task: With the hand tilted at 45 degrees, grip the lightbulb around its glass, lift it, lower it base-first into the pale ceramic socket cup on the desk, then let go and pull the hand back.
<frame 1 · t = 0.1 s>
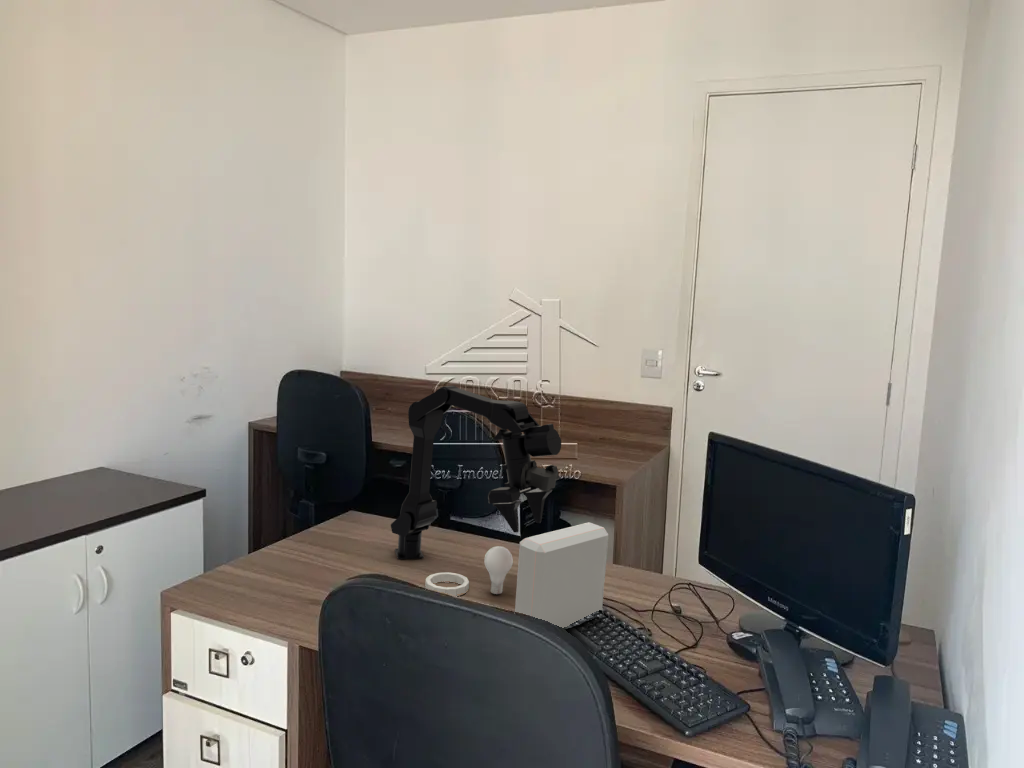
hand: (527, 527, 168), 15 cm above the table, tool pointing down, fingers open, 9 cm apart
lightbulb: (496, 594, 169), on the table
socket: (446, 589, 170), on the table
first aid kit: (556, 626, 155), on the table
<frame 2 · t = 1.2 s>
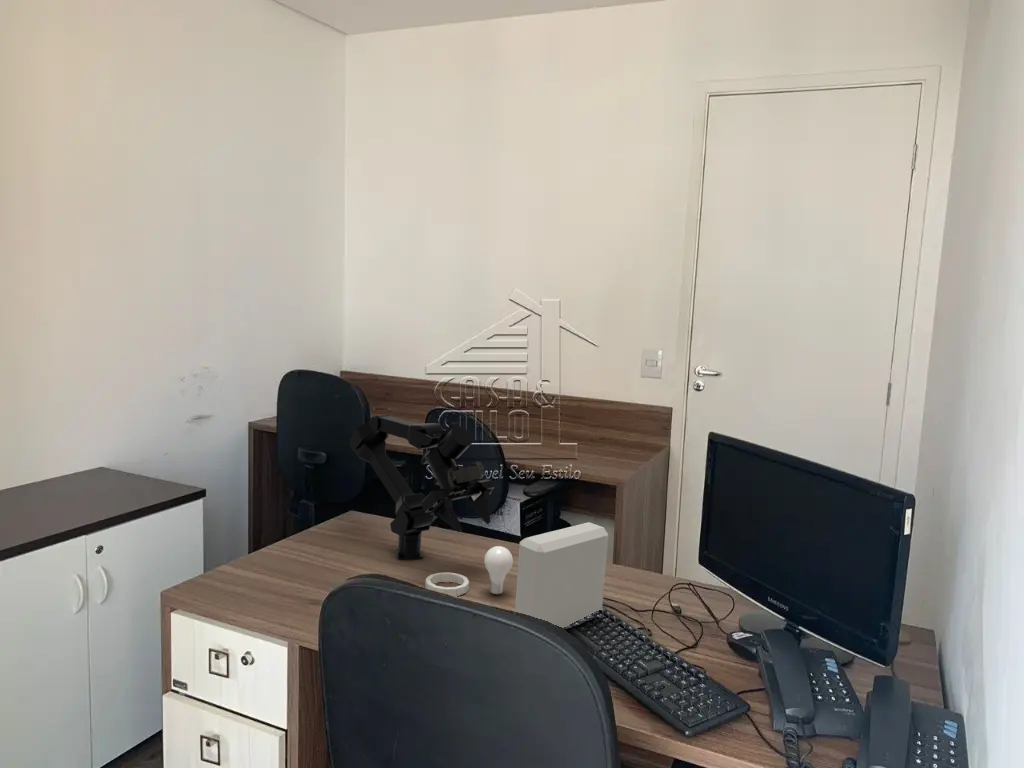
hand: (475, 527, 173), 13 cm above the table, tool tilted 45°, fingers open, 9 cm apart
nothing on the table moved.
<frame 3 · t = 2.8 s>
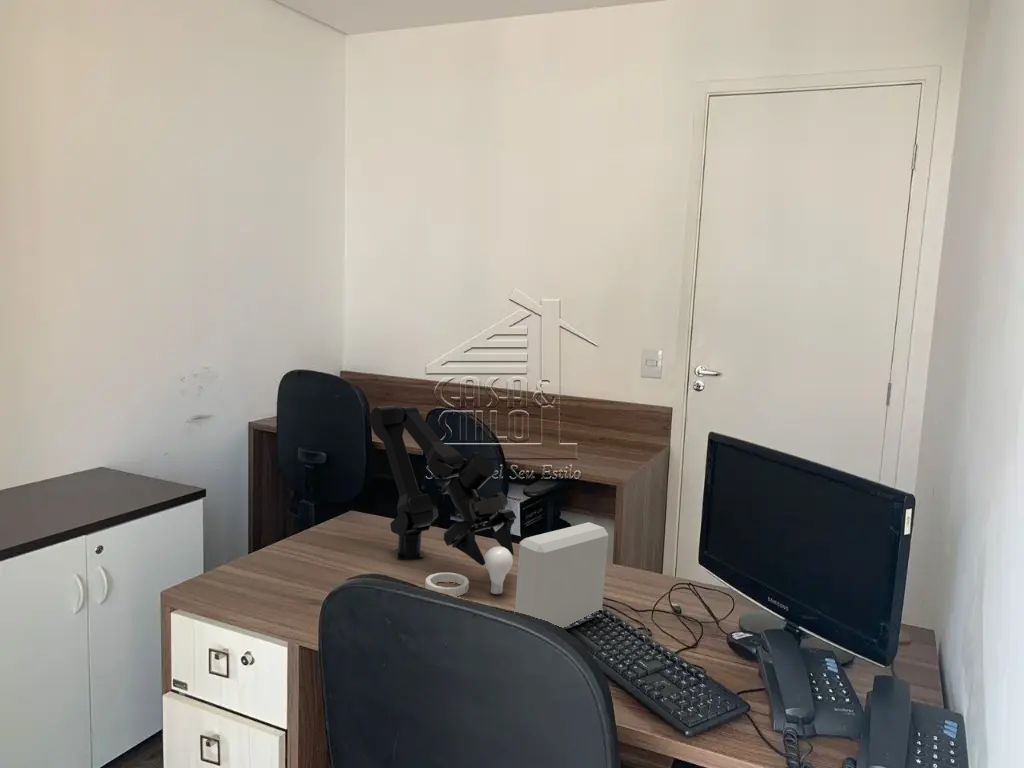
hand: (498, 559, 168), 8 cm above the table, tool tilted 45°, fingers open, 9 cm apart
nothing on the table moved.
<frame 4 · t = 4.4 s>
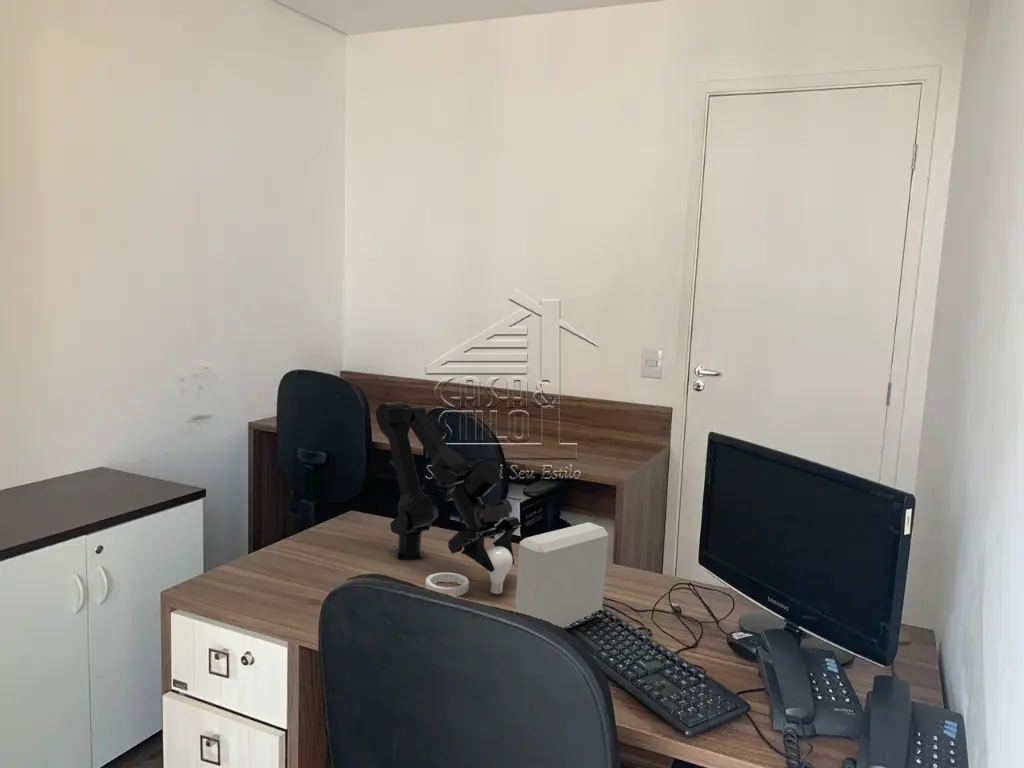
hand: (502, 567, 167), 7 cm above the table, tool tilted 45°, fingers closed on lightbulb, 6 cm apart
lightbulb: (496, 594, 169), on the table, touching gripper
everything else where it was.
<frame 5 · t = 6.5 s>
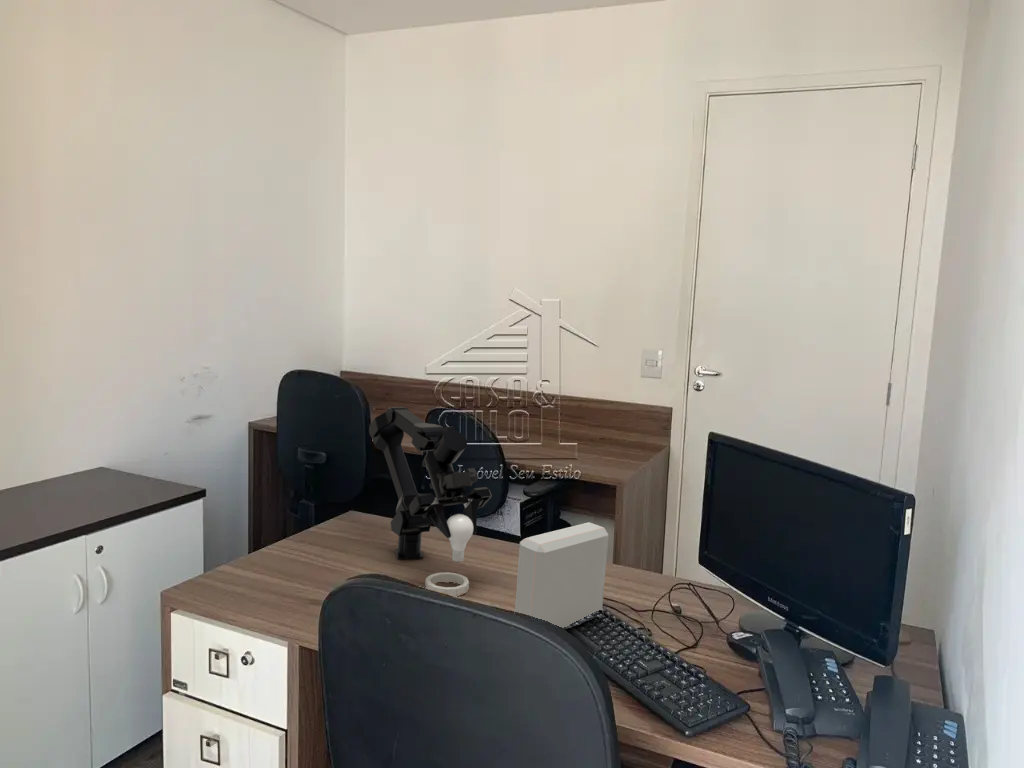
hand: (462, 535, 167), 13 cm above the table, tool tilted 45°, fingers closed on lightbulb, 6 cm apart
lightbulb: (457, 562, 169), point 6 cm above the table, touching gripper
everything else where it was.
when the fingers open (8 cm above the table, at t = 9.1 s): lightbulb drops 2 cm, resting in socket.
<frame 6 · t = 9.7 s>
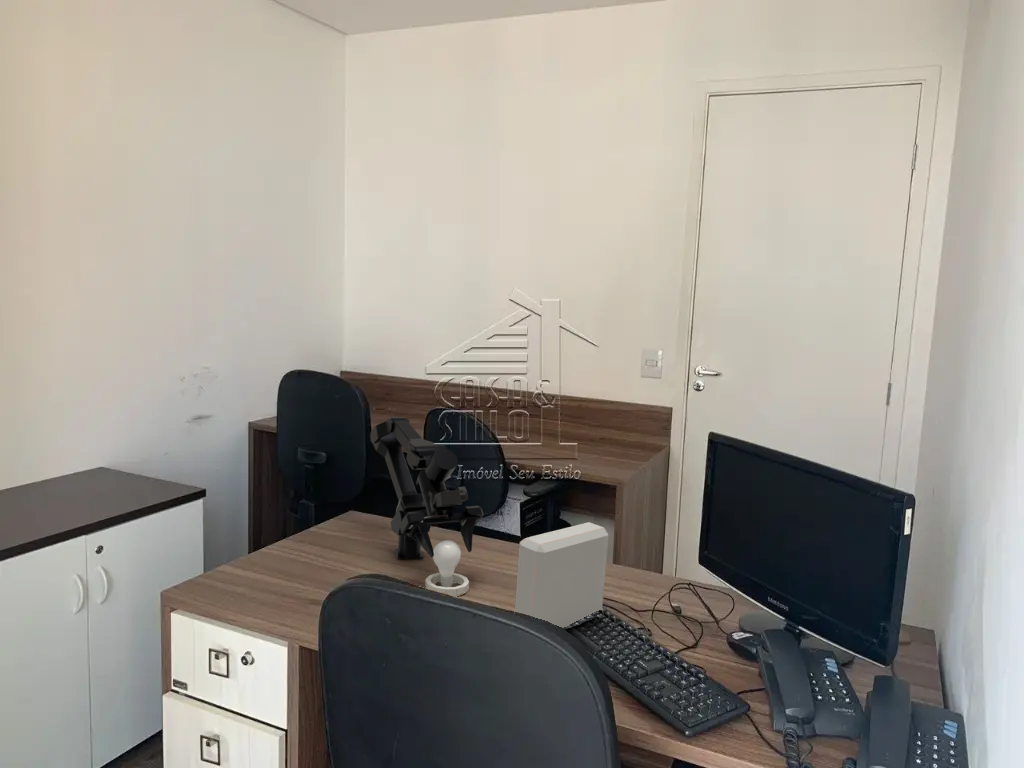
hand: (451, 553, 168), 9 cm above the table, tool tilted 45°, fingers open, 9 cm apart
lightbulb: (446, 589, 170), resting in socket
everything else where it was.
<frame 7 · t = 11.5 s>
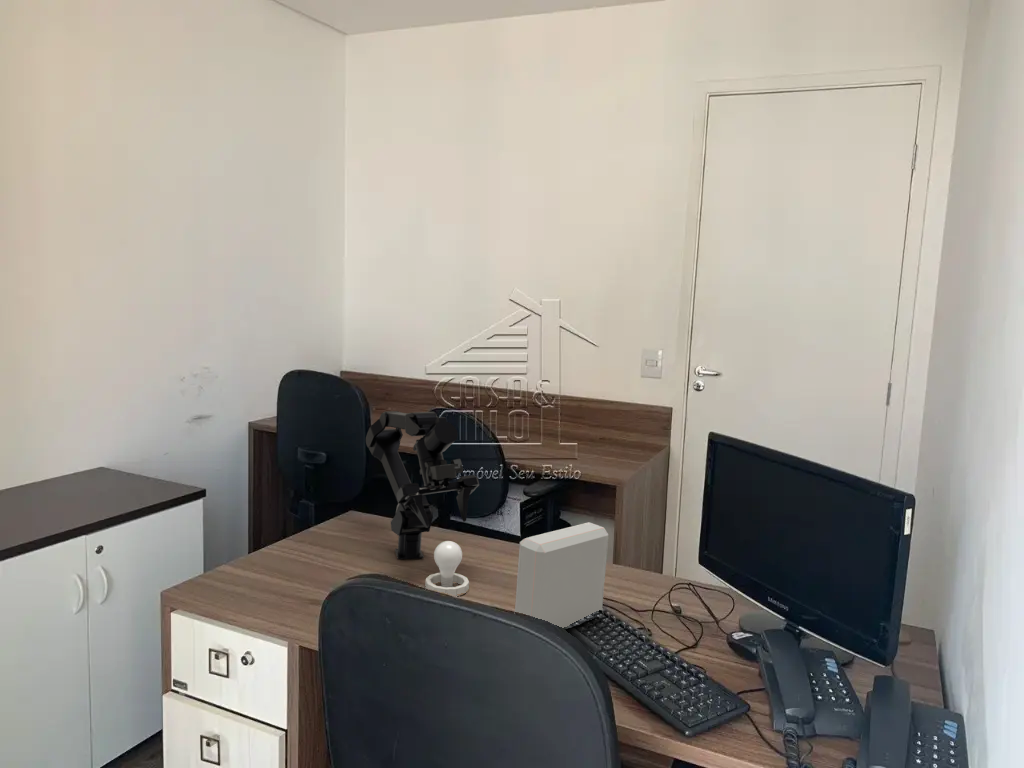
hand: (446, 524, 172), 14 cm above the table, tool tilted 35°, fingers open, 9 cm apart
nothing on the table moved.
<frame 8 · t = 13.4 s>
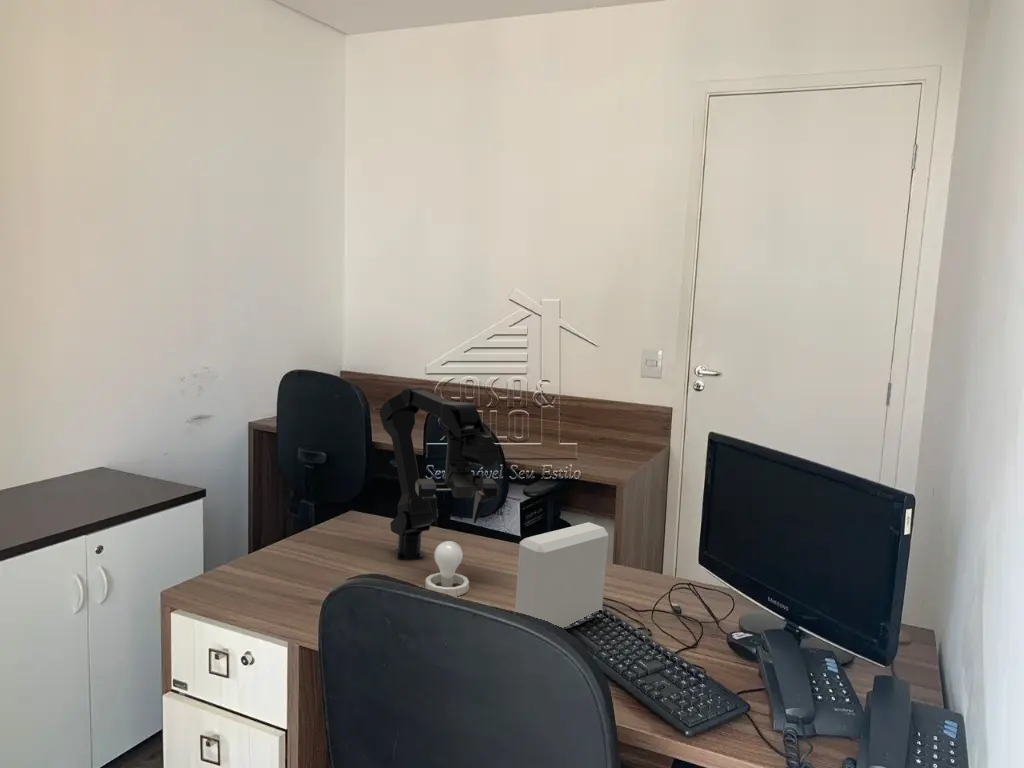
hand: (455, 523, 176), 13 cm above the table, tool pointing down, fingers open, 9 cm apart
nothing on the table moved.
at the end: lightbulb 0.2 cm off-centre on the socket, point 0.0 cm above the socket's base; lightbulb tilted 0°; the gripper is holding nothing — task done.
